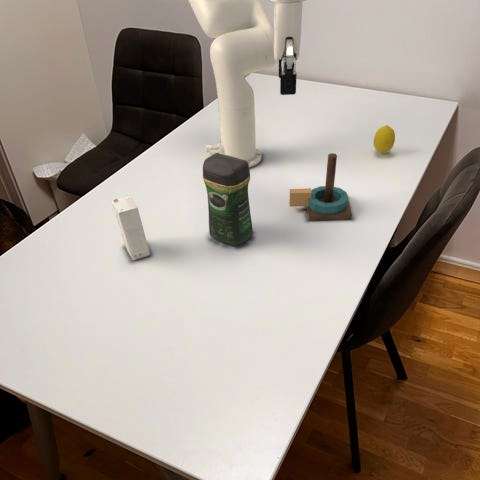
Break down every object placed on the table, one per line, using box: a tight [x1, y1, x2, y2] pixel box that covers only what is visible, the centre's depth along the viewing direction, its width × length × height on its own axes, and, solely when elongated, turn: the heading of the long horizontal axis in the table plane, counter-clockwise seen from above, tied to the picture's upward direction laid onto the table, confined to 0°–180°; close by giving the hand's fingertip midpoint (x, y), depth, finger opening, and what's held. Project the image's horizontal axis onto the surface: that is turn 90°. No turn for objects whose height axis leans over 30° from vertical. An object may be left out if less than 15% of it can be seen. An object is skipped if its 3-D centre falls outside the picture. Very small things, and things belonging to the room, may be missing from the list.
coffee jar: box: [202, 153, 254, 247], centre depth 101 cm, size 10×8×19 cm
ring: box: [288, 185, 349, 214], centre depth 111 cm, size 14×9×4 cm
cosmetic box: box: [111, 195, 151, 261], centre depth 101 cm, size 6×4×12 cm
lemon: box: [373, 124, 396, 155], centre depth 129 cm, size 6×6×8 cm
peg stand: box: [305, 152, 353, 222], centre depth 109 cm, size 10×10×14 cm
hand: (286, 85), depth 100 cm, fingers open, 9 cm apart
